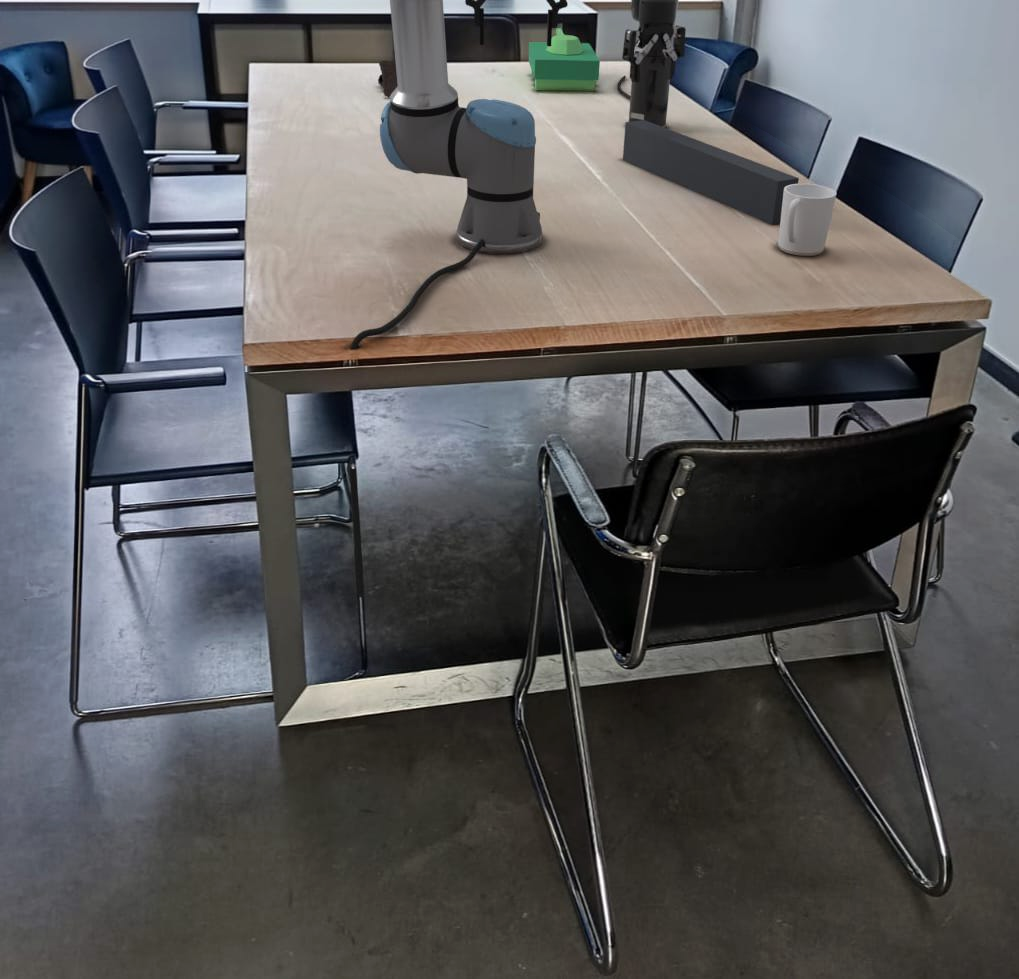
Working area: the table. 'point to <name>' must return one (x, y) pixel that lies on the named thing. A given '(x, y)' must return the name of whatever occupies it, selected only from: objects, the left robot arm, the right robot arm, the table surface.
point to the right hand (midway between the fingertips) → (651, 80)
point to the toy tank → (563, 64)
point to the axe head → (388, 77)
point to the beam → (707, 169)
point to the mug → (805, 218)
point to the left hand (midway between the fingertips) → (515, 44)
